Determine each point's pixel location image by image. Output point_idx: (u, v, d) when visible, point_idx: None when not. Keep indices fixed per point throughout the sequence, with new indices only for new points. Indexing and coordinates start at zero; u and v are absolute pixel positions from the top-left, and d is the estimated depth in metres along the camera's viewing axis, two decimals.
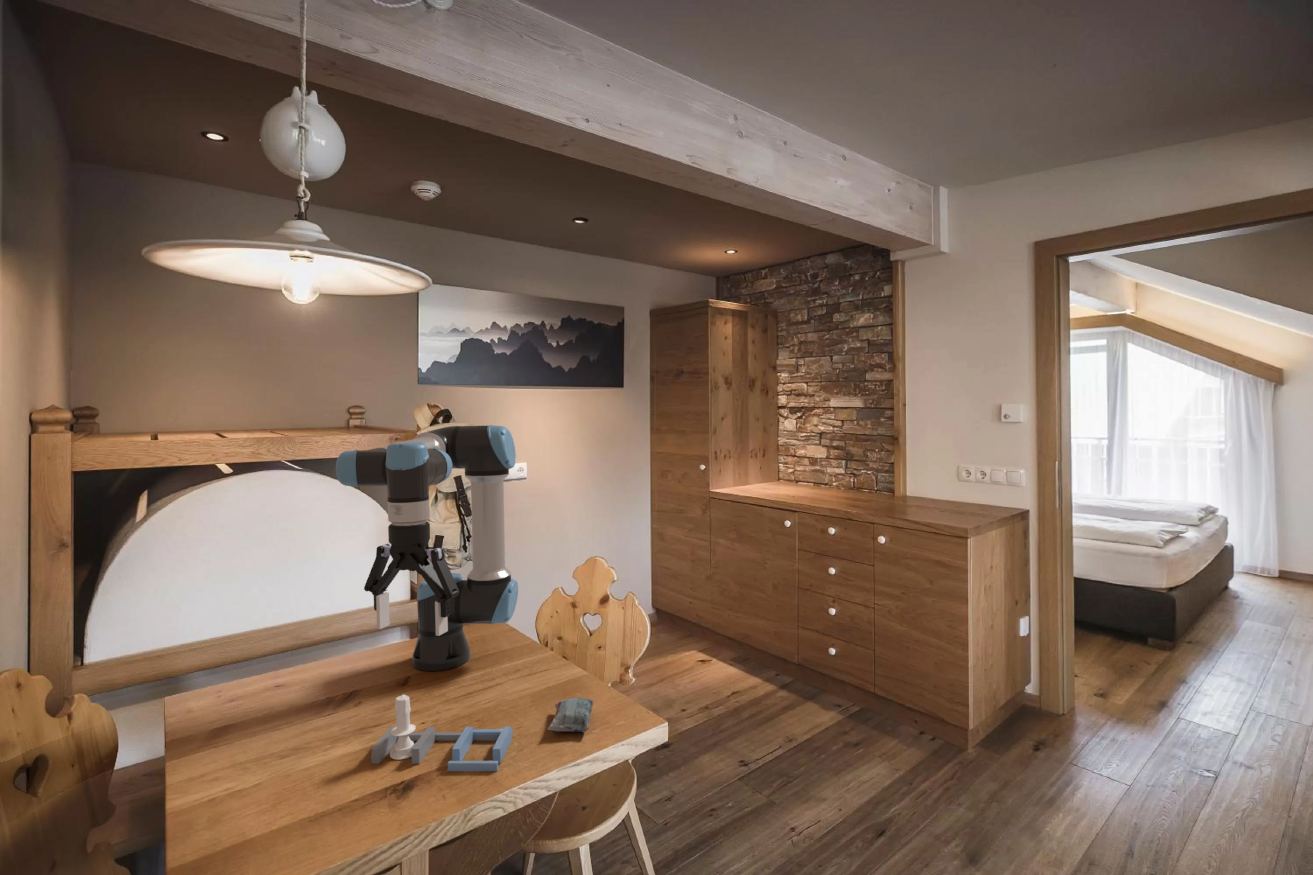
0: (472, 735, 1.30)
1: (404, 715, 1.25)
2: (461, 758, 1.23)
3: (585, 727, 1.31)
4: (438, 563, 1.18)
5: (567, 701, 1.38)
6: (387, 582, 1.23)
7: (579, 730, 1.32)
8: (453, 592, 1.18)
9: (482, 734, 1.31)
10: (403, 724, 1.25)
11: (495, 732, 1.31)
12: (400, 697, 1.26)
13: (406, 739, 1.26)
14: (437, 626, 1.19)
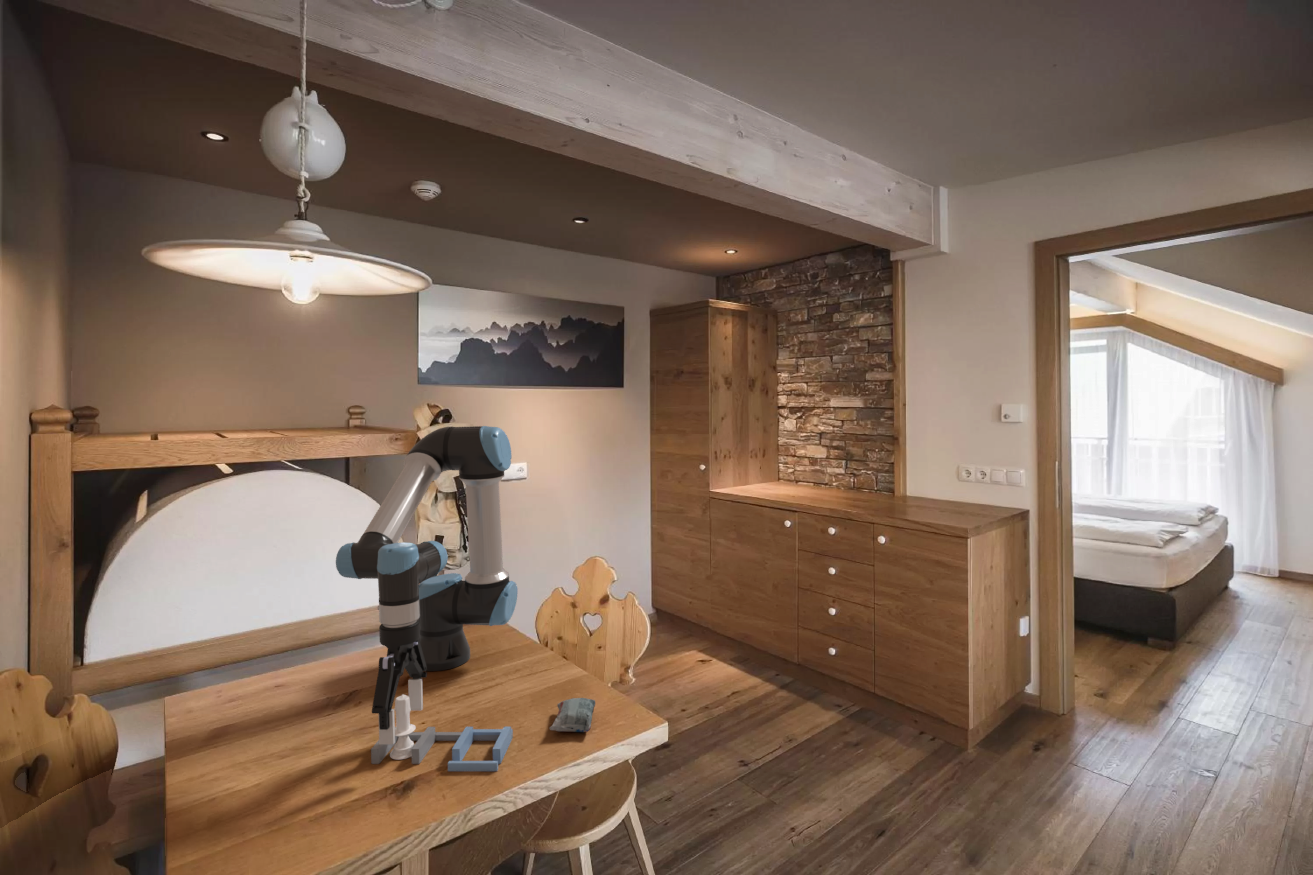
0: (472, 735, 1.30)
1: (404, 715, 1.25)
2: (461, 758, 1.23)
3: (587, 727, 1.31)
4: (379, 673, 1.18)
5: (569, 701, 1.38)
6: (411, 670, 1.31)
7: (581, 730, 1.32)
8: (376, 708, 1.16)
9: (482, 734, 1.31)
10: (403, 724, 1.25)
11: (495, 732, 1.31)
12: (400, 697, 1.26)
13: (406, 739, 1.26)
14: None
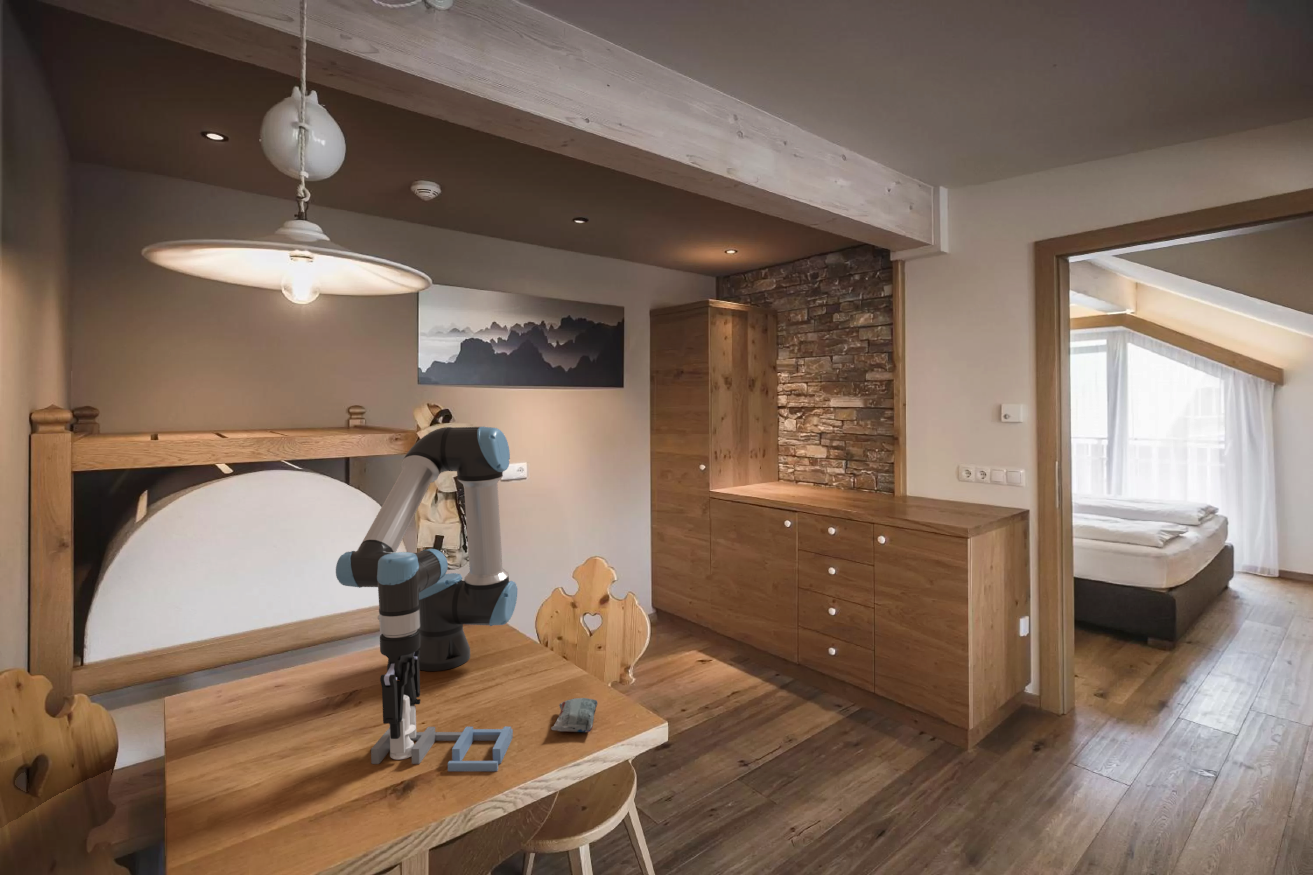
0: (472, 735, 1.30)
1: (404, 715, 1.25)
2: (461, 758, 1.23)
3: (589, 727, 1.31)
4: (383, 689, 1.20)
5: (571, 701, 1.38)
6: (406, 691, 1.28)
7: (583, 730, 1.32)
8: (387, 720, 1.20)
9: (482, 734, 1.31)
10: None
11: (495, 732, 1.31)
12: None
13: (406, 739, 1.26)
14: None
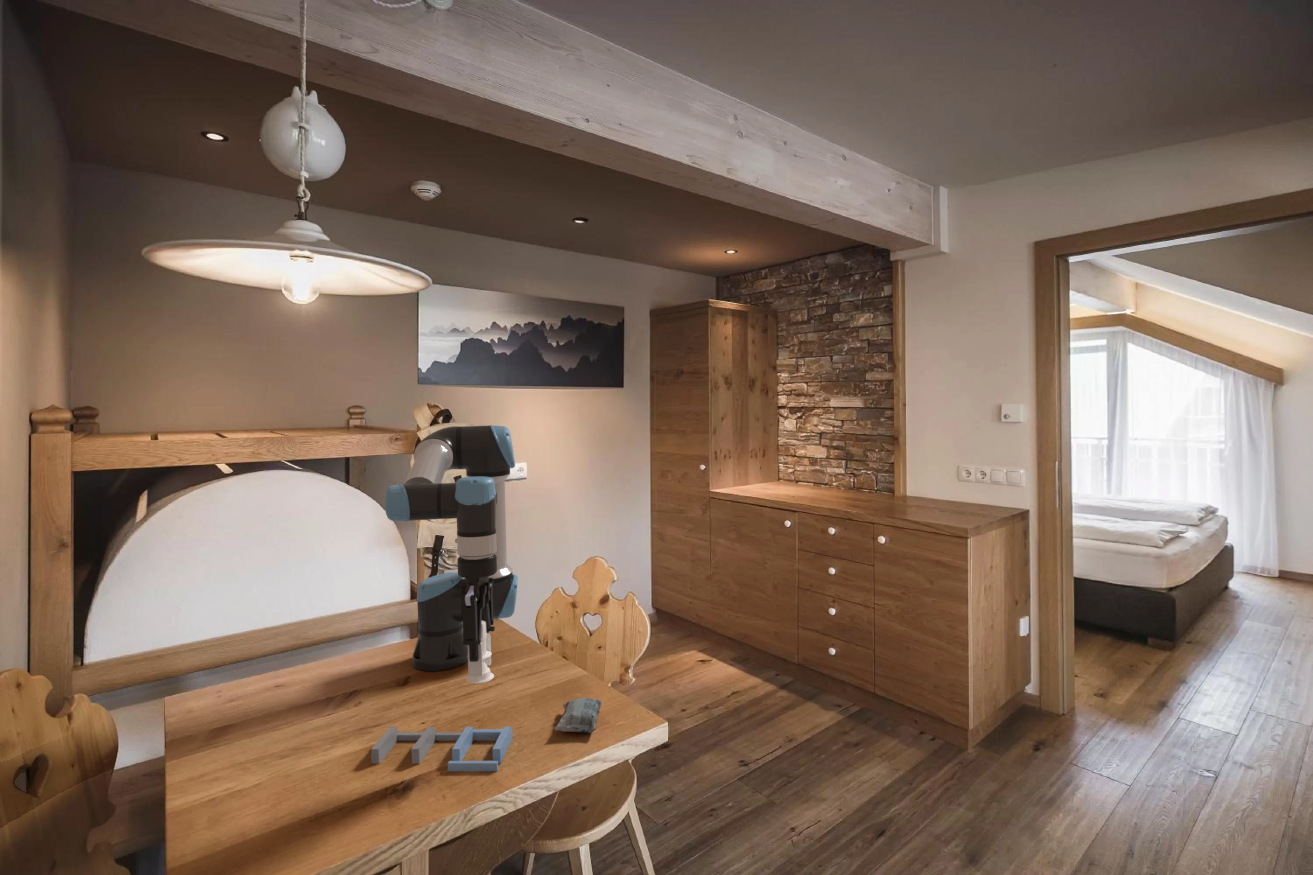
0: (472, 735, 1.30)
1: (481, 640, 1.24)
2: (461, 758, 1.23)
3: (592, 728, 1.31)
4: (463, 610, 1.18)
5: (575, 701, 1.38)
6: (481, 617, 1.27)
7: (586, 731, 1.32)
8: (467, 641, 1.19)
9: (482, 734, 1.31)
10: None
11: (495, 732, 1.31)
12: None
13: (483, 664, 1.24)
14: None
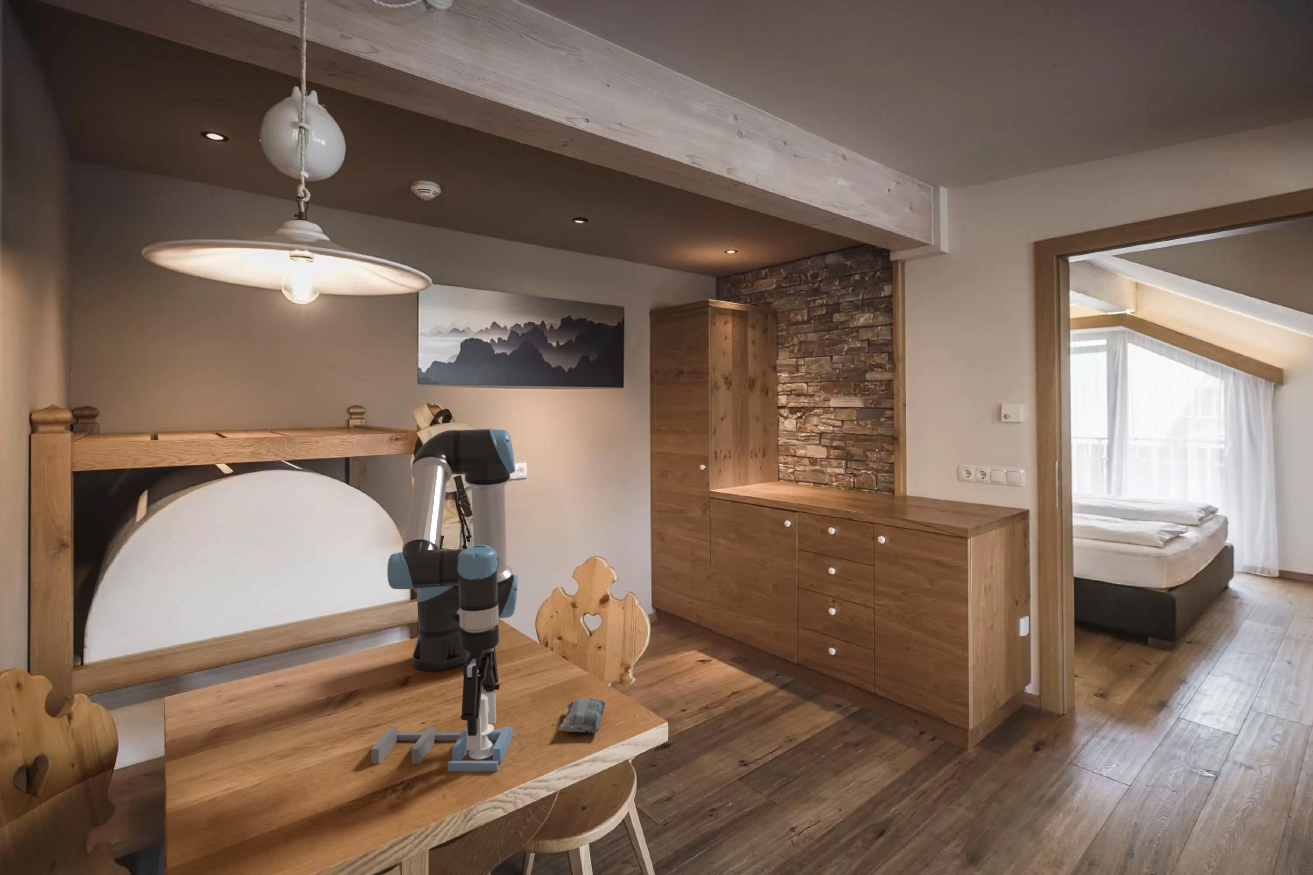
0: None
1: (483, 715, 1.25)
2: (461, 758, 1.23)
3: (595, 728, 1.31)
4: (464, 681, 1.18)
5: (579, 702, 1.38)
6: (485, 680, 1.30)
7: (589, 731, 1.32)
8: (466, 716, 1.17)
9: None
10: (482, 724, 1.25)
11: (495, 732, 1.31)
12: None
13: (485, 739, 1.25)
14: None
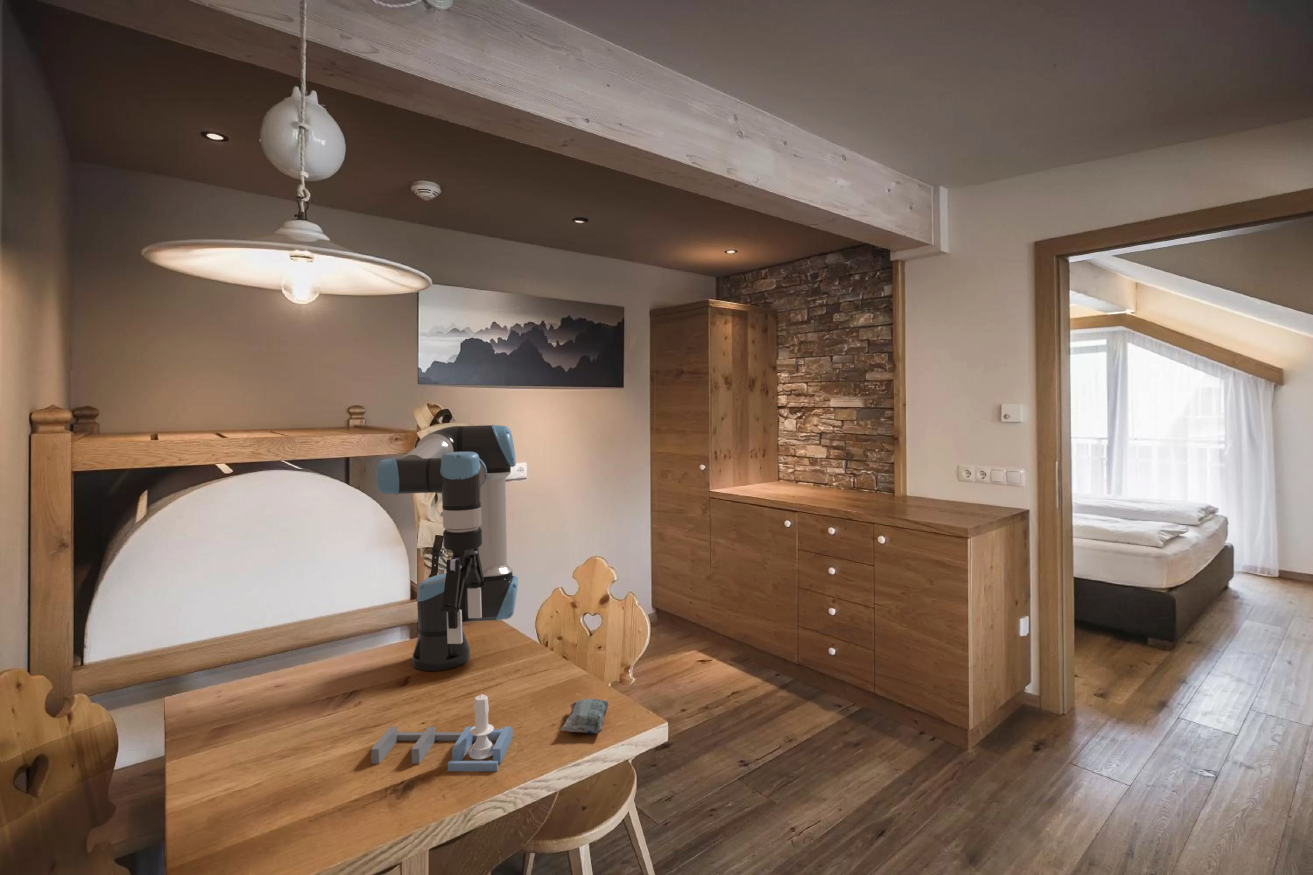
0: (472, 735, 1.30)
1: (483, 715, 1.25)
2: (461, 758, 1.23)
3: (598, 729, 1.31)
4: (447, 574, 1.20)
5: (582, 702, 1.38)
6: (471, 578, 1.33)
7: (592, 731, 1.32)
8: (446, 607, 1.18)
9: None
10: (482, 724, 1.25)
11: (495, 732, 1.31)
12: (479, 697, 1.26)
13: (485, 739, 1.25)
14: None
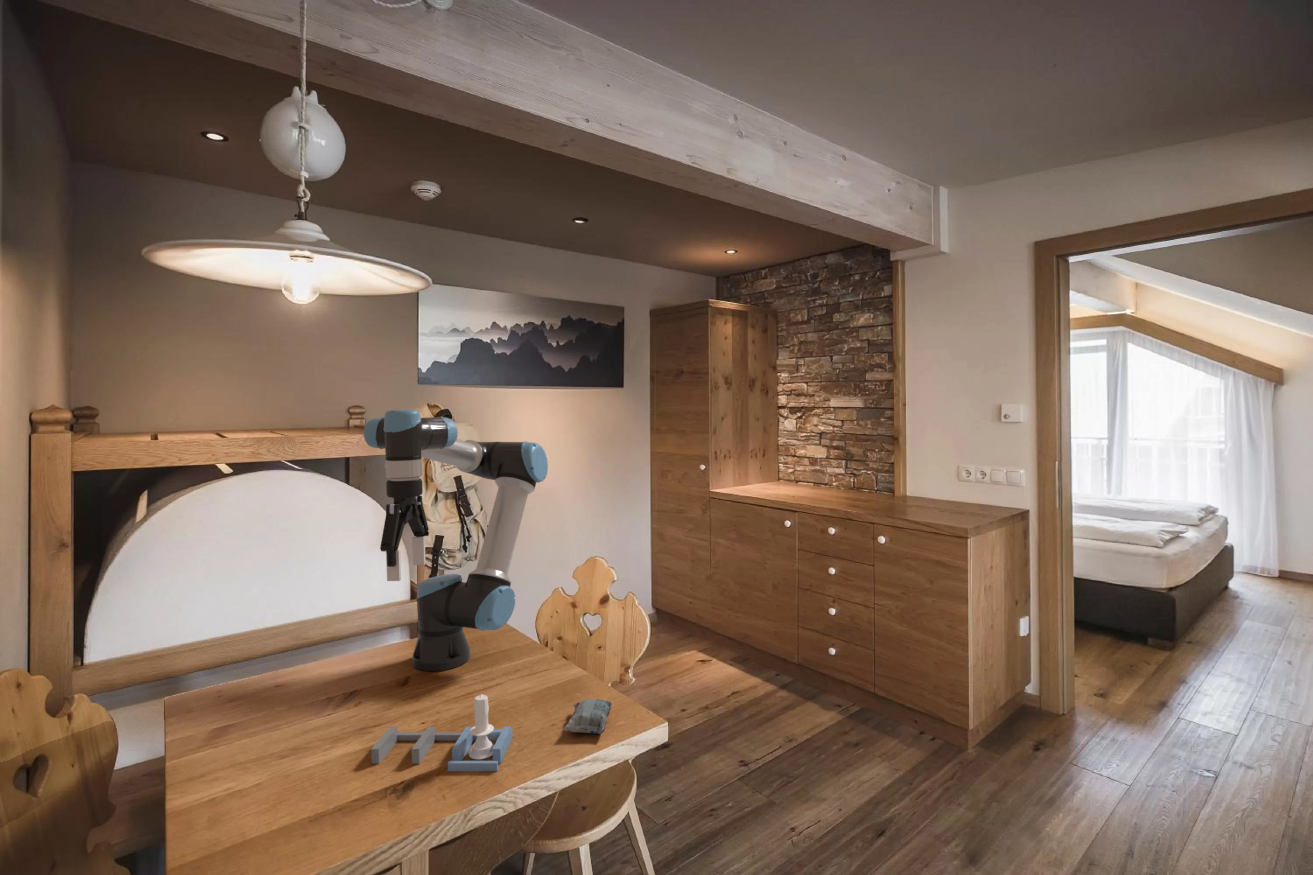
0: (472, 735, 1.30)
1: (483, 715, 1.25)
2: (461, 758, 1.23)
3: (601, 729, 1.30)
4: (386, 517, 1.33)
5: (585, 702, 1.37)
6: (414, 527, 1.46)
7: (595, 732, 1.32)
8: (384, 545, 1.30)
9: None
10: (482, 724, 1.25)
11: (495, 732, 1.31)
12: (479, 697, 1.26)
13: (485, 739, 1.25)
14: None
